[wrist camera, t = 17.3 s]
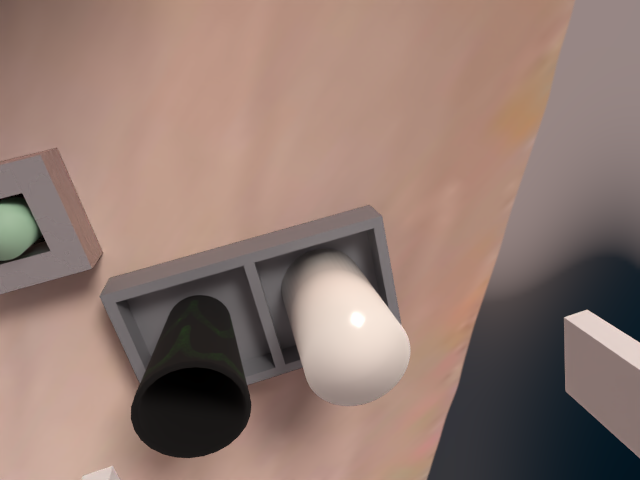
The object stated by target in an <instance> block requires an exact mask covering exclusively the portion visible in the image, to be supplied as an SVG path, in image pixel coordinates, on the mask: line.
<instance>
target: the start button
mask: <svg viewBox="0 0 640 480" xmlns="http://www.w3.org/2000/svg"><path fill="white" fill-rule="evenodd" d="M41 236H42V233H41V231H40V228H39V226H38V224H37V222H36V220H35V218H34V216H33V214H32V212H31V210H30V208H29V206H28V204H27V202H26V200H25V199H24V198H19V197H10V198H5V199H3V200H1V201H0V260H1V261H4V260H11V259H14V258H16V257H18V256H20V255H21V254H22V253H23V252H24V251H25V250H26V249H28V248H29V247H30V246H31V245H32V244H33V243H34V242H35V241H37V240H38V239H39V238H40V237H41Z"/></svg>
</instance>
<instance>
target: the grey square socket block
mask: <svg viewBox="0 0 640 480" xmlns="http://www.w3.org/2000/svg"><path fill="white" fill-rule="evenodd" d="M20 193H22V194H23V196H24V198H25V200H26V202H27V204H28V206H29V208H30V210H31V212H32V214H33V216H34V218H35V220H36V222H37V224H38V226H39V228H40V231H41V233H42V235H43V237H44V239H45V242H41V243H37V244H34V245H31V246H30V247H29V248H28V249H26V250H25V251H24V252H23V253H22V254H21V255H20V256H18V257H16V258H14V259H11V260H4V261H1V260H0V294H3V293H7V292H10V291H14V290H17V289H21V288H25V287H28V286H32V285H35V284H39V283H43V282H46V281H50V280H53V279H57V278H61V277H64V276H68V275H71V274H75V273H79V272H82V271H86V270H89V269H92V268H93V267H94V265H95V264H96V262H97V261H98V259H99V258H100V256H101V255H102V253H103V252H102V249H101V247H100V245H99V243H98V240H97V238H96V236H95V234H94V231H93V229H92V227H91V224H90V222H89V220H88V218H87V215H86V213H85V211H84V208H83V206H82V204H81V202H80V199H79V197H78V195H77V193H76V190H75V188H74V186H73V183H72V181H71V179H70V177H69V174H68V172H67V170H66V167H65V165H64V163H63V161H62V158H61V156H60V154H59V152H58V149H57V148H54V149H50V150H46V151H42V152H38V153H34V154H30V155H26V156H22V157H18V158H14V159H9V160H5V161H1V162H0V199H1V198H5V197H9V196H13V195H17V194H20Z"/></svg>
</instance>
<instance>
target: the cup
mask: <svg viewBox="0 0 640 480" xmlns="http://www.w3.org/2000/svg"><path fill="white" fill-rule="evenodd" d="M250 412H251V400H250V395H249V391H248V386H247V382H246V378H245V374H244V370H243V366H242V362H241V358H240V354H239V349H238V345H237V341H236V337H235V333H234V329H233V325H232V321H231V317H230V313H229V311H228V309H227V307H226V306H225V305H224V304H223V303H222V302H220V301H219V300H218V299H216V298H213V297H211V296H206V295H194V296H190V297H187V298H185V299H183V300H181V301H179V302H178V303H177V304H176V305H175V306H174V307H173V309H172V310H171V312H170V314H169V316H168V318H167V321H166V323H165V325H164V328H163V330H162V333H161V335H160V337H159V340H158V342H157V345H156V347H155V349H154V352H153V354H152V356H151V359H150V361H149V364H148V366H147V368H146V371H145V373H144V376H143V378H142V380H141V383H140V385H139V387H138V390H137V392H136V395H135V397H134V400H133V403H132V406H131V420H132V424H133V427H134V430H135V432H136V433H137V435H138V436H139V438H140V439H141V440H142V441H143V442H144V443H145V444H146V445H148V446H149V447H150V448H151V449H153V450H155V451H158V452H160V453H162V454H165V455H169V456H173V457H179V458H193V457H200V456H205V455H208V454H211V453H214V452H217V451H219V450H220V449H222V448H224V447H226V446H228V445H229V444H230V443H231V442H233V441H234V440H235V439H236V438H237V437H238V436H239V435H240V434H241V432H242V431H243V430H244V428H245V427H246V425H247V422H248V420H249V417H250Z"/></svg>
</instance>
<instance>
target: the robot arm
mask: <svg viewBox="0 0 640 480" xmlns="http://www.w3.org/2000/svg"><path fill="white" fill-rule="evenodd" d="M564 334H565V335H564V336H565V337H564V338H565V391H566V392H567V393H568V394H570V395H571V396H572V397H573V398H574V399H575V400H576V401H577V402H578V403H579V404H581V405H582V406H583V407H584V408H585V409H586V410H587V411H588V412H589V413H591V414H592V415H593V416H594V417H595V418H596V419H597V420H598V421H599V422H600V423H602V424H603V425H604V426H605V427H606V428H607V429H608V430H609V431H611V433H613V434H614V435H615V436H616V437H617V438H618V439H619V440H620V441H621V442H623V443H624V444H625V445H626V446H627V447H628V448H629V449H630V450H632V451H633V452H634V453H635V454H636V455H637V456H638V457H639V458H640V343H639V342H638V341H636V340H634V339H633V338H631V337H630V336H628V335H626V334H625V333H623V332H622V331H620V330H618V329H617V328H615V327H614V326H612V325H611V324H609V323H607V322H606V321H604V320H603V319H601V318H599V317H598V316H596V315H595V314H593V313H591V312H589V311H588V310H585V311H582V312H579V313H576V314H573V315H570V316H567V317H565V318H564ZM82 480H120V478H119V476H118V475H117V473H116V471H115V469H114V467H113V466H111V467H107V468H104V469H101V470H98V471H95V472H92V473H89V474H86V475H83V477H82Z"/></svg>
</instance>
